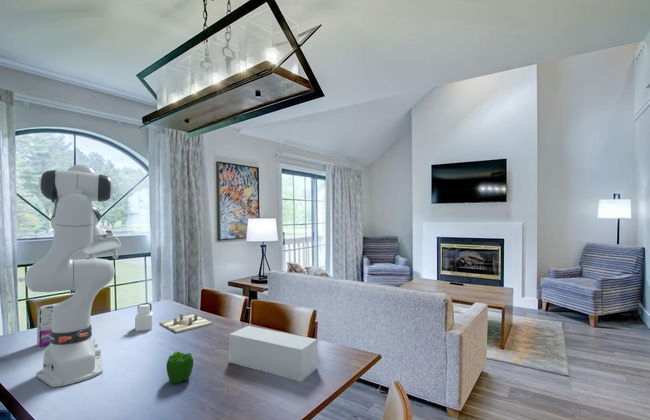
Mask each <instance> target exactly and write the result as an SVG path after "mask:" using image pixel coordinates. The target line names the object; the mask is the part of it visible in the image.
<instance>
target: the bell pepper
mask: <svg viewBox="0 0 650 420" xmlns="http://www.w3.org/2000/svg"><path fill="white" fill-rule="evenodd" d="M193 367H194V358H193V354H192V353H190V352H189V353H186V354H185V353H184V352H180V351H174V352H173V353H172V355H169V357H168V358H167V361H166V373H167V376H168V377H167V378H168V380H169V382H170V383H171V384H173V385H174V384H175V385H176V384H180V383H182V382H183V381H187V380H189V378H190V377H191V374H192V372H193Z"/></svg>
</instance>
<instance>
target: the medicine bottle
mask: <svg viewBox="0 0 650 420" xmlns="http://www.w3.org/2000/svg"><path fill="white" fill-rule="evenodd" d="M152 308H153V307H152V304H151V303H148V302H146V303H140V304H139V305H137V311H136V315H135V318H134V319H135V323H134V326H135V327H134V331H135V332H144V331H151V330H153V326H154V311H152V310H153V309H152Z"/></svg>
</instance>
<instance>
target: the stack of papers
mask: <svg viewBox="0 0 650 420" xmlns="http://www.w3.org/2000/svg"><path fill="white" fill-rule="evenodd" d="M228 339H229V340H228V343H229V344H228V346H229V347H228V350H229V351H228V362H229V363H230V364H235V365H238V366H242V367H246V368H250V369H252V370H256V369H257V371H260V370H262V371H261V372H264V371H265V372H264V373H268V372H269V374H271V373H273V374H272V375H275V374H276V375H275V376H278V377H282V376H284V378H286V377H287V379H290V380H293V381H298V382H303V381H305V379H307V378H308V377H309V376H310V375H312V374H313V373H314V371H316V370H317V369H318V367H317V366H318V348H317V347H318V339H316V338H312V337H308V336H302V335H298V334H297V335H296V334H292V333H286V332H283V331H276V330H271V329H267V328H261V327H256V326H251V325H248V326H245V327H242V328H239V329H238V330H236V331H233V332H231V333H229V338H228Z"/></svg>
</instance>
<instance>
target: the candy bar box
mask: <svg viewBox="0 0 650 420" xmlns="http://www.w3.org/2000/svg"><path fill="white" fill-rule="evenodd" d="M59 303H60V302H57V303H56V302H55V303H51V304H45V305H39V306H37V309H36V310H37V311H36V312H37V313H36V314H37V317H36V318H37V324H36V325H37V326H36V331H37V332H36V339H37V340H36V345H37V346H38V347H39V348H40V347H44V346H45V347H46V346H49V344H50V343H51V342H50V338H49V337H50V331H51V330H52V311H53V309H54V308H55V306H57V305H58V304H59Z"/></svg>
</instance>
